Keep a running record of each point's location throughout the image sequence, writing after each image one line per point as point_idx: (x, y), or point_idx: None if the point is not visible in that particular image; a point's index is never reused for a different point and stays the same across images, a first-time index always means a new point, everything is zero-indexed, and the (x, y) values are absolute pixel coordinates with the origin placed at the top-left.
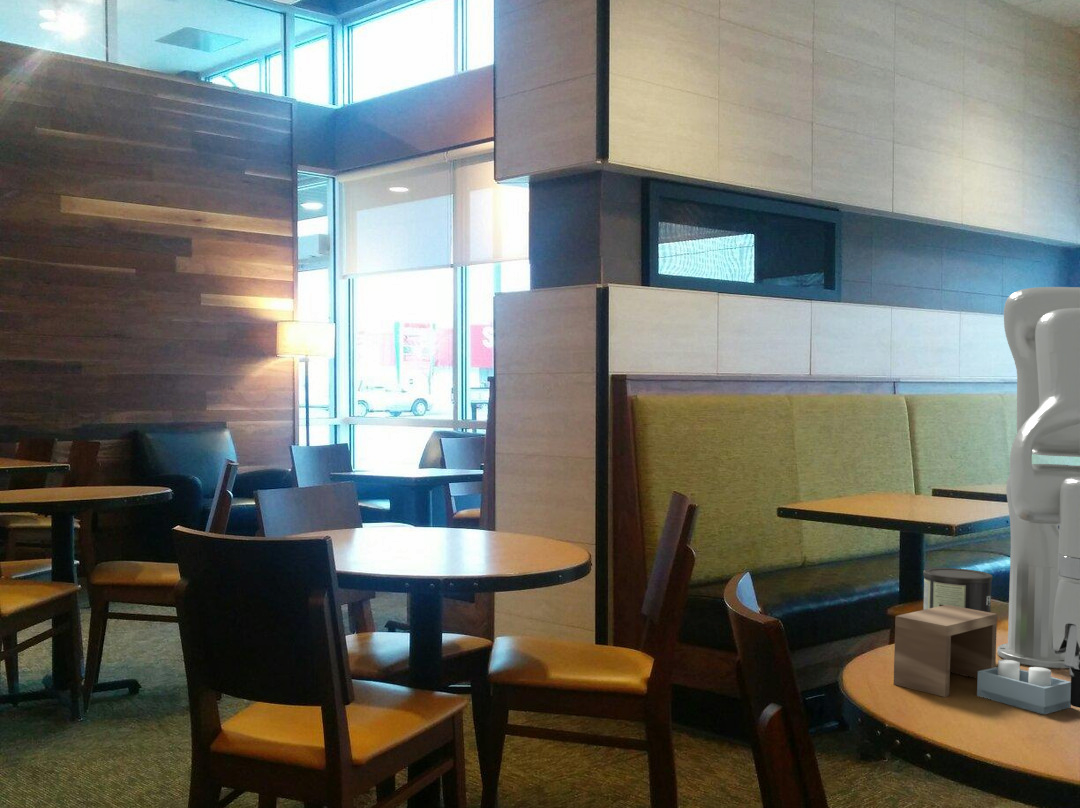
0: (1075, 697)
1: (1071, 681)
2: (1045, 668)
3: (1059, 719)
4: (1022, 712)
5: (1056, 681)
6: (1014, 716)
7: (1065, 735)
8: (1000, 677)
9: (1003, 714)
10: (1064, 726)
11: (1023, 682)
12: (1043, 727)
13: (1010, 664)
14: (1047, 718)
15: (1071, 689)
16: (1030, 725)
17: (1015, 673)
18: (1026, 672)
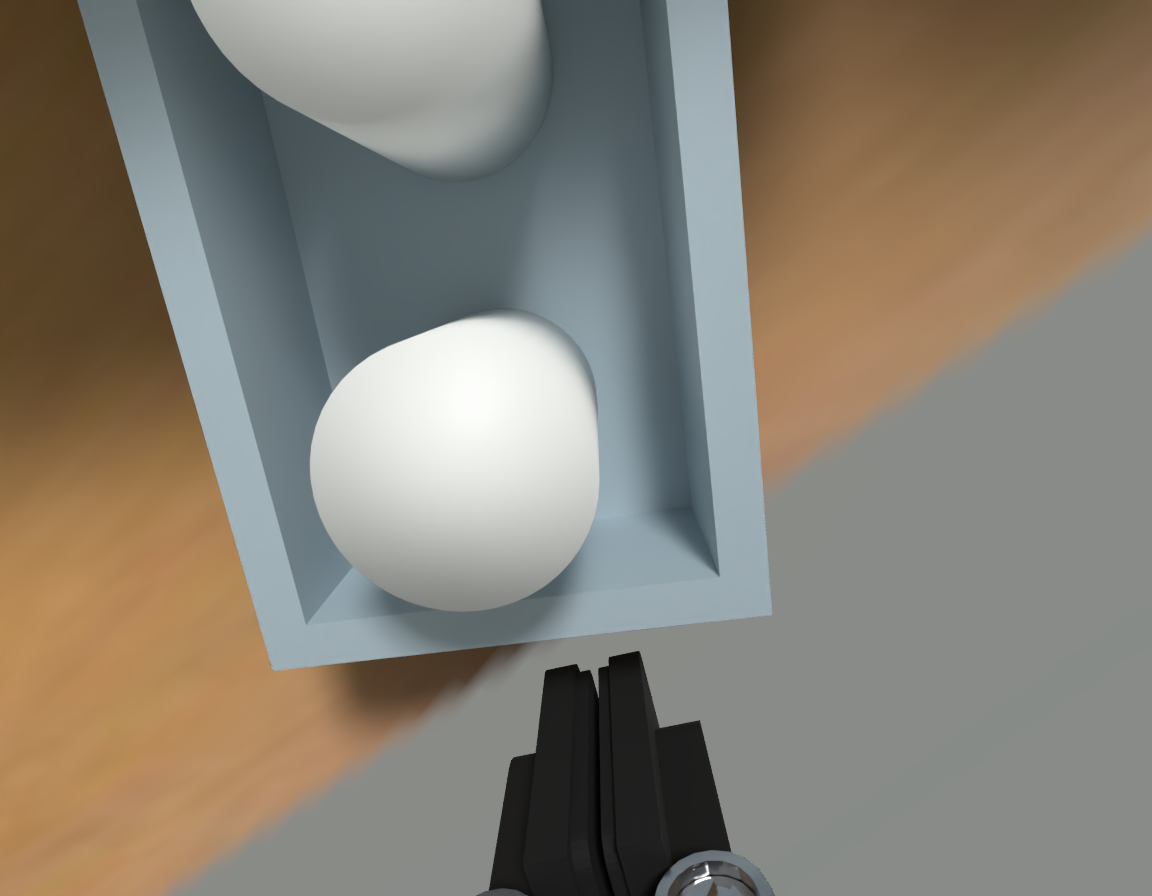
0: (510, 776)
1: (528, 816)
2: (584, 469)
3: (382, 663)
4: None
5: (706, 478)
6: (114, 501)
7: (157, 863)
8: (124, 138)
9: (65, 436)
10: (290, 763)
11: (223, 432)
12: (137, 728)
13: (246, 77)
14: None
15: (537, 756)
16: (81, 673)
17: (373, 146)
18: (674, 76)
